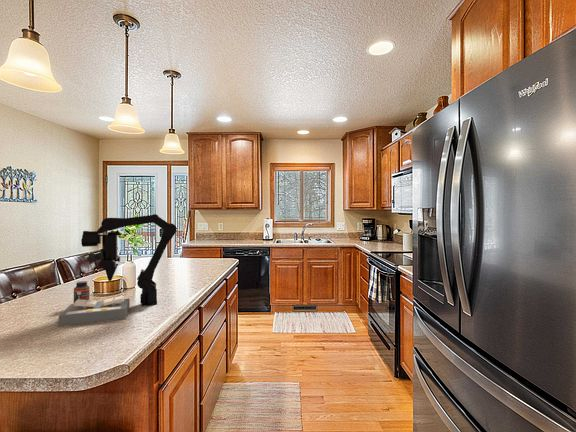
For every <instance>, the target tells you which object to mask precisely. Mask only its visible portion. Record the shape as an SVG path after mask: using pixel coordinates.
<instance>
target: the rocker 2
mask: <svg viewBox="0 0 576 432" xmlns="http://www.w3.org/2000/svg"><path fill="white" fill-rule="evenodd" d="M124 299H125V295H120V296H115V297H111V298H107V299H105V300H103V301H104V303H103V304H104V306H105V305H109V304H113V303H117V302H121V301H123V300H124Z"/></svg>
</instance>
